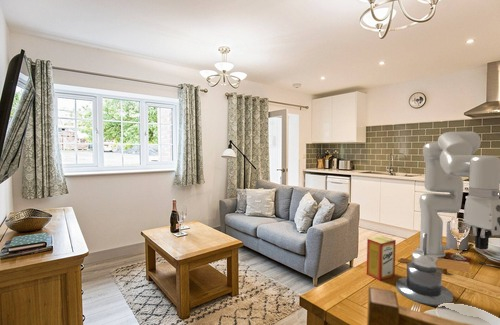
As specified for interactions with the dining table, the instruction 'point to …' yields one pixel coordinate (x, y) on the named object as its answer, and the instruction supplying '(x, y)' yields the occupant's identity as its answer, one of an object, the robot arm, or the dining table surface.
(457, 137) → the robot arm
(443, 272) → the primitive tool
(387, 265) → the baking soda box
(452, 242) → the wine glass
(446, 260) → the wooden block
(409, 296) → the grey stepped cylinder
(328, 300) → the dining table surface
